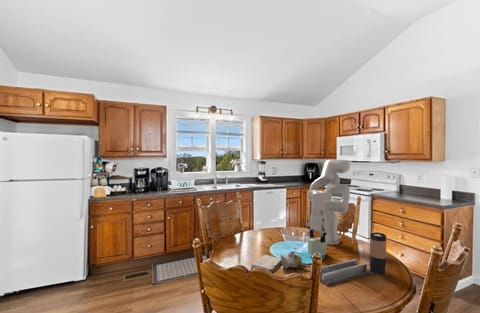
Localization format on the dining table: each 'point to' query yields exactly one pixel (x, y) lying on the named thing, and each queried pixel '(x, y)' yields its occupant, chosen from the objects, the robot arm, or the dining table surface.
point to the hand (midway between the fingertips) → (317, 239)
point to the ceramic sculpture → (292, 261)
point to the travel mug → (378, 253)
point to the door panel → (316, 246)
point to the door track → (342, 272)
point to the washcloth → (267, 263)
